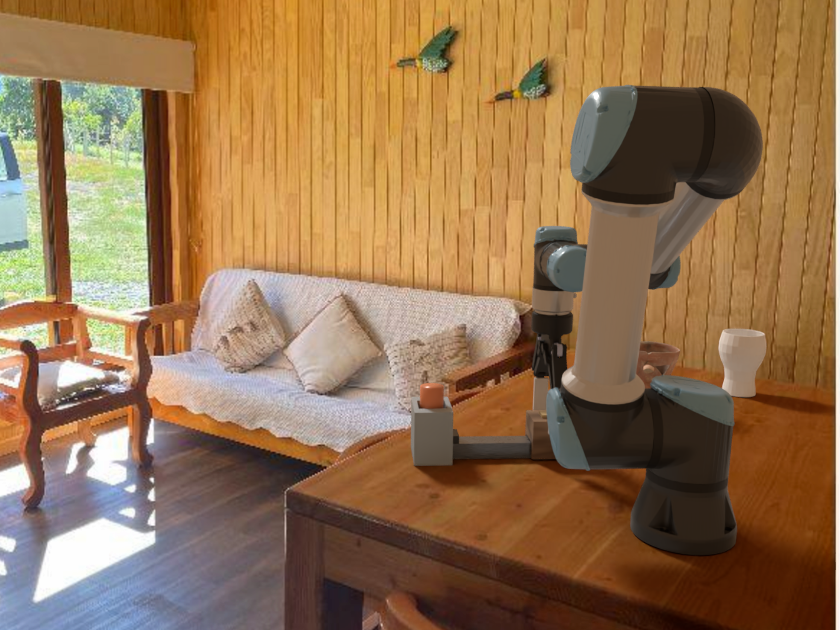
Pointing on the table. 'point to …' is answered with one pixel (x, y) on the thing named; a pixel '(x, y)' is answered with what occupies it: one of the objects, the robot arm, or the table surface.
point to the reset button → (431, 396)
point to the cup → (741, 359)
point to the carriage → (538, 434)
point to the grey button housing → (431, 434)
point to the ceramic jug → (655, 360)
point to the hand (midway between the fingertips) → (547, 421)
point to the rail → (490, 447)
